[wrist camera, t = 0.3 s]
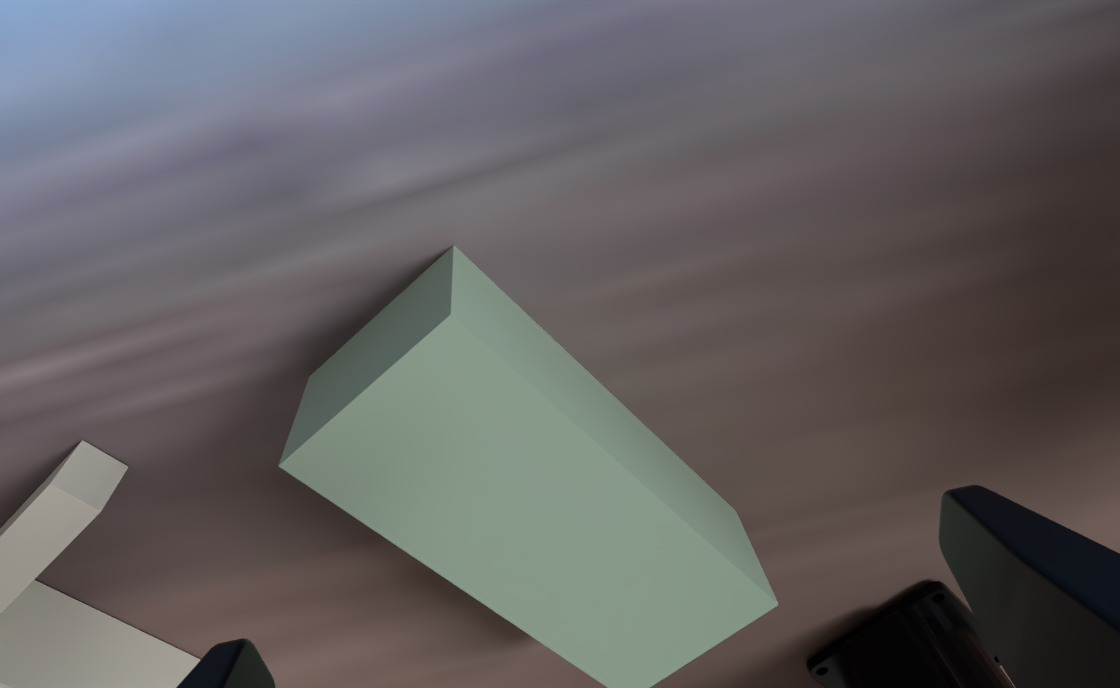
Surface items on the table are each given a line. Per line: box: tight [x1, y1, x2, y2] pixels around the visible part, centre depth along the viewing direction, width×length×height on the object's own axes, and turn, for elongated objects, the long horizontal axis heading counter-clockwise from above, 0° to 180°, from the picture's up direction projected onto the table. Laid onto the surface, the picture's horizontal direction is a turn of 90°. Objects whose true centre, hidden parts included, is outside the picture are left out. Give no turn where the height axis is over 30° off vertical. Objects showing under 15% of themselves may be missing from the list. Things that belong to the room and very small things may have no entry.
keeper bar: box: [279, 245, 779, 688], centre depth 23 cm, size 14×6×4 cm, turn 41°
